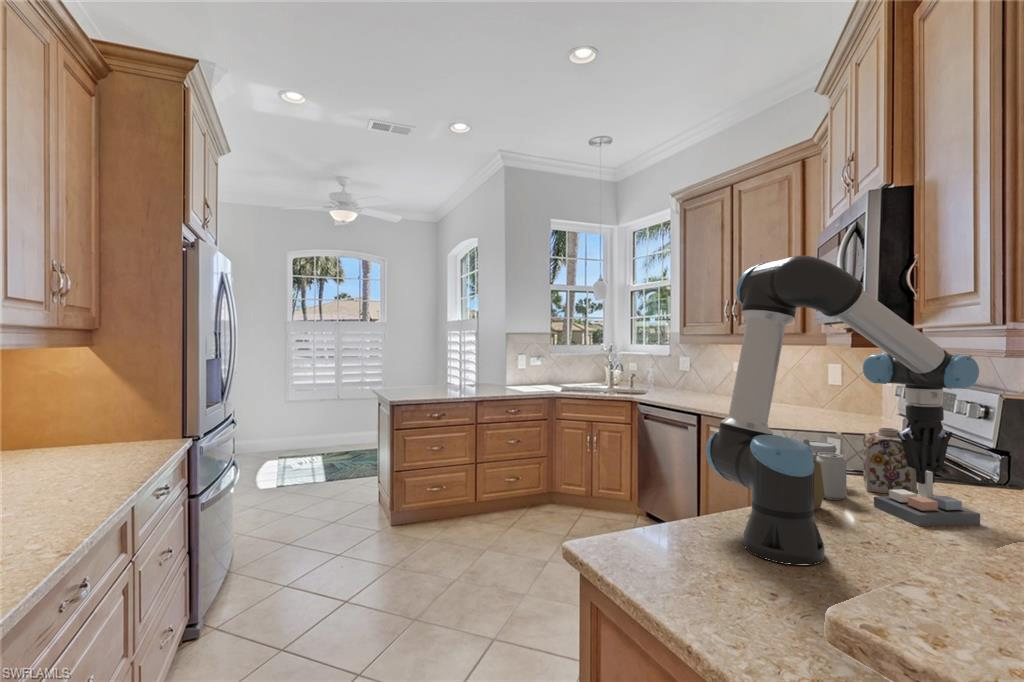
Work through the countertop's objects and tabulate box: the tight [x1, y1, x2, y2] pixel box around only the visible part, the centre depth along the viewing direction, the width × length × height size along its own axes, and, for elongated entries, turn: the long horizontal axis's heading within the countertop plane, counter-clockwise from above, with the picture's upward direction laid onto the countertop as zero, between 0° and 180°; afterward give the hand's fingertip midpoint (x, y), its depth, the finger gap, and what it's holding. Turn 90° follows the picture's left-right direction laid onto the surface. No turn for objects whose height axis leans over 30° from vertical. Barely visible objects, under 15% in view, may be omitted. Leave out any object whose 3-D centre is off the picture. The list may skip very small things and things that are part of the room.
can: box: [816, 452, 848, 501], centre depth 140 cm, size 8×8×12 cm
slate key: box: [931, 495, 963, 512], centre depth 122 cm, size 4×4×3 cm
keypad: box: [873, 495, 981, 527], centre depth 124 cm, size 15×14×3 cm
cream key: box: [888, 489, 918, 504], centre depth 127 cm, size 4×4×3 cm
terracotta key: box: [908, 497, 938, 513], centre depth 121 cm, size 4×4×3 cm
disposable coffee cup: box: [809, 440, 838, 456], centre depth 154 cm, size 10×10×12 cm
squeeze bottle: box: [802, 438, 825, 511], centre depth 132 cm, size 8×8×18 cm
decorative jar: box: [862, 427, 918, 495], centre depth 146 cm, size 12×12×18 cm
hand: (925, 495), depth 128 cm, fingers closed
